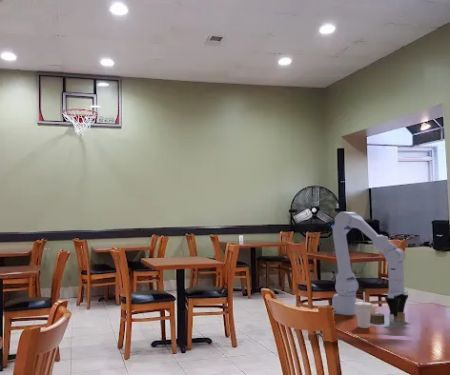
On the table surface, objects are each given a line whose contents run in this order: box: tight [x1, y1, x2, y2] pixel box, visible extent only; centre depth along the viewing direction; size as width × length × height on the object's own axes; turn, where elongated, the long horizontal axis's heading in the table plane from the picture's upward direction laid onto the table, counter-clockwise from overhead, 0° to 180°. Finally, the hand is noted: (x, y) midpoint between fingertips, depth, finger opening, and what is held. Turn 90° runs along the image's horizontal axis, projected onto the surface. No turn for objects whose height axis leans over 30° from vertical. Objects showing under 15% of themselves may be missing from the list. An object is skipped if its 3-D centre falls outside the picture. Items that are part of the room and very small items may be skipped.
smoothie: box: [354, 291, 373, 329], centre depth 178 cm, size 6×6×14 cm
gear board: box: [370, 312, 410, 329], centre depth 186 cm, size 12×18×5 cm, turn 142°
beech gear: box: [389, 312, 406, 322], centre depth 188 cm, size 5×5×3 cm
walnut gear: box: [370, 312, 385, 324], centre depth 185 cm, size 5×5×3 cm
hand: (397, 314), depth 188 cm, fingers open, 7 cm apart
